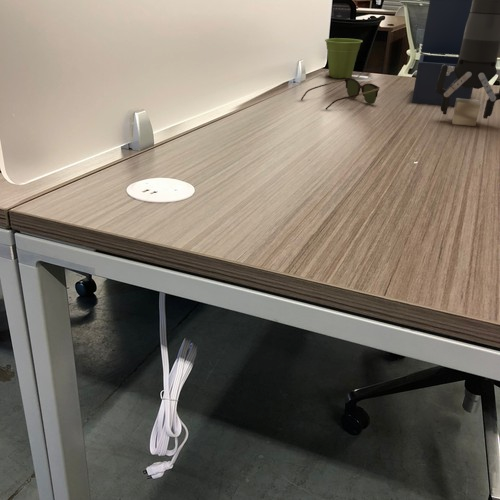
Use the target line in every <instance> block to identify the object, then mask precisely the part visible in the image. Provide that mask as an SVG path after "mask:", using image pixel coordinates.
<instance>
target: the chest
mask: <svg viewBox="0 0 500 500" xmlns="http://www.w3.org/2000/svg"><path fill="white" fill-rule="evenodd" d="M458 60H459V56H456V55H441V54H425V53H420V56H419V60H418V62H417V63H418V64H417V69H416V75H415V80H414V87H413V92H412V97H411V103H413V104H421V105H423V104H424V105H434V106H441V104H442V99H443V96H442V95H441V94H438V93H436V86H437V83H438V79H439V75H440V71H441V67H442V65H443V64H447V65H449V66H456V65H457V63H458ZM456 79H457V77H456V75H455V73H454V71H452V72H451V73H450V75H448V76H446V77H445V80H444V84H443V88H444V89H447V88H448V87H449V86H450V85H451V84H452V83H453V82H454V81H455V80H456ZM473 90H474V88H472V87H470V88H464V87H462V86H460V87H459V88H458V89H456V90H455V91H454V92H453V93H452V94H451V95H450V99H449V104H448V107H455V102H456V98H461V99H472V94H473Z"/></svg>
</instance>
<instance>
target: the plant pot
mask: <svg viewBox="0 0 500 500" xmlns="http://www.w3.org/2000/svg"><path fill="white" fill-rule="evenodd" d="M324 42H325V43H326V50H327V63H328V76H329V78H330V77H331V78H333V79H339V80H342V79H345V78H352V75H353V73H354V69H355V63H356V61H357V57H358V53H359V50H360V47H361V43H363V40H362V39H356V38H342V37H341V38H340V37H339V38H338V37H334V38H333V37H332V38H325V39H324Z"/></svg>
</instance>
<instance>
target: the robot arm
mask: <svg viewBox="0 0 500 500" xmlns="http://www.w3.org/2000/svg"><path fill="white" fill-rule="evenodd" d="M499 53H500V0H473V1H472V5H471V10H470V14H469V18H468V20H467V23H466V27H465V31H464V37H463V41H462V46H461V51H460V55H458V57H459V60H458V63H457V65H456V66H449V65H447V64H443V65H442V67H441V71H440V75H439V79H438V83H437V86H436V93H438V94H441V95H442V96H443V99H442V104H441V105H440V112H442V115H447V113H448V108H449V106H448V104H449V99H450V95H451V94H452V93H453V92H454V91H455V90H456V89H458V88H459V87H460V86H462V87H464V88H470V87H472V88H473V89H474V90H479V89H482V88H483V89H484V91H485V94H486V95H487V96H488V99H486V103H485V106H484V111H483V115H482V118H483V119H486V120H487V119H489V118H488V117H491V116H492V114H493V110H494V107H495V103H496V102H497V101H499V100H500V89H499V90H498V92H494V90H493V88H492V86H491V84H490V82H491V80H493V79H494V77H496V75H497V77H498V80H500V68H498V69H497V61H498V57H499ZM452 71H454V73H455V75H456V77H457V79H456V80H455V81H454V82H453V83H452V84H451V85H450V86H449V87H448V88H447V89H444V88H443V84H444V80H445V77H446V76H448V75H450V73H451V72H452Z"/></svg>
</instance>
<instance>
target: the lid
mask: <svg viewBox="0 0 500 500" xmlns="http://www.w3.org/2000/svg"><path fill="white" fill-rule="evenodd" d="M472 1H473V0H429V3H428V9H427V13H426V14H427V15H426V20H425V27H424V31H423V38H422V44H421V49H420V54H432V55H448V56H459V55H460V51H461V46H462V41H463V37H464V31H465V27H466V23H467V20H468V18H469V14H470V10H471V5H472Z"/></svg>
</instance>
